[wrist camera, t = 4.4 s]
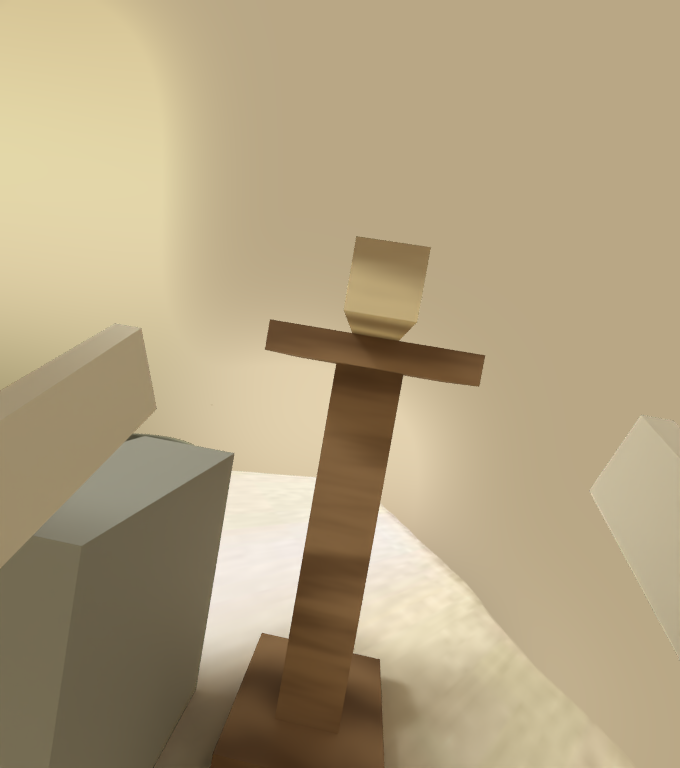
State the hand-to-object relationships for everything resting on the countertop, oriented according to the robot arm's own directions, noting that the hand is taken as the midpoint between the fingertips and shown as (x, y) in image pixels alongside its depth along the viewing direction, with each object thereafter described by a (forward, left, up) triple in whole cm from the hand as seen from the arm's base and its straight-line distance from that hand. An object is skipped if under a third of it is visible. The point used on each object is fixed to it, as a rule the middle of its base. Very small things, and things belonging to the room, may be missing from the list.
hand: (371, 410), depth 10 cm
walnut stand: (-13, +15, -29) cm, 35 cm away
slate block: (-19, 0, -29) cm, 34 cm away
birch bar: (-11, +13, +3) cm, 17 cm away
